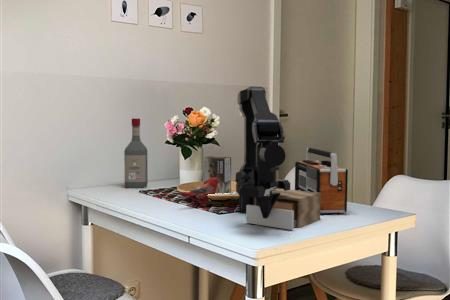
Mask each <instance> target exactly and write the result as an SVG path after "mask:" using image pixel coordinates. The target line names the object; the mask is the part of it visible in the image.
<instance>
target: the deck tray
mask: <svg viewBox="0 0 450 300" xmlns="http://www.w3.org/2000/svg"><path fill="white" fill-rule="evenodd" d="M245 215H246V218H245V220H246V221H245V223H247V224H252V225H258V226H264V227H269V228H277V229H284V230H289V231H290V230H294V228H296V227H297V220H298V219H296V220H294V211H292V210H285V209H277V208H272V210H271V212H270V214H269V216H268V218H263V216H262V213H261V210H260V207H259V206H254V205H246V213H245Z"/></svg>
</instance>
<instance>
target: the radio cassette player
mask: <svg viewBox="0 0 450 300" xmlns="http://www.w3.org/2000/svg"><path fill="white" fill-rule="evenodd" d="M305 153H306V155H305V159H303V160H302V161H301V160H298V161H295V162H294V165H295V167H294V190H299V191H308V192H318V193H321V200H320V215H322V214H338V215H340V214H342V213H346V212H347V211H348V178H349V177H348V175H349V171H348V170H349V169H347V168H344V167H340V166H338V155H337V153H335V152H331V151H327V150H323V149H322V150H321V149H318V148H313V147H307V148H306V152H305ZM312 154H314V155H318V156H321V157H324V158H330V159H331V161H330V160H321V161H320V160H316V159H315V160H312Z"/></svg>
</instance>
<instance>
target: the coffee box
mask: <svg viewBox="0 0 450 300" xmlns="http://www.w3.org/2000/svg"><path fill="white" fill-rule="evenodd" d="M202 162H203V163H202V164H203V167H202V170H203V171H202V172H203V175H202V176H203V179H202V180H203V185H204V184H205V183H206V182H207V181H208V180H209V179H211V178H212V177H216V178H217V180H218V182H219V183H218V185H217V188H216V191H215V193H231V194H232V157H231V156H214V155H213V156H211V155H210V156H206V157H203V158H202Z"/></svg>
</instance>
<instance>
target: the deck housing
mask: <svg viewBox="0 0 450 300" xmlns="http://www.w3.org/2000/svg"><path fill="white" fill-rule="evenodd" d="M275 190H276V193H280V195H279V196H278V198H277V199H279V200H287V201H296V202H298V220H297V229H300V228H303V227H305V226H308V225H311V224H313V223H316V222H319V221H320V220H321V214H320V200H321V193H318V192H308V191H299V190H295V189H290V190H287V191H285V190H284V189H279V188H277V189H275ZM254 206H259V204H258V201H257V199H256V198H254Z"/></svg>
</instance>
